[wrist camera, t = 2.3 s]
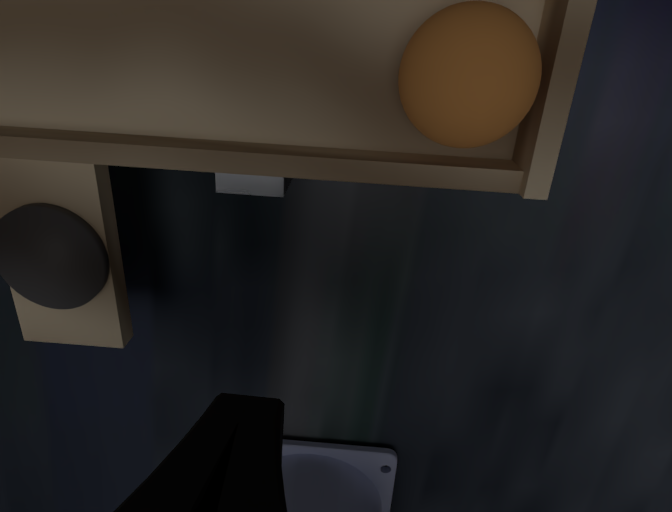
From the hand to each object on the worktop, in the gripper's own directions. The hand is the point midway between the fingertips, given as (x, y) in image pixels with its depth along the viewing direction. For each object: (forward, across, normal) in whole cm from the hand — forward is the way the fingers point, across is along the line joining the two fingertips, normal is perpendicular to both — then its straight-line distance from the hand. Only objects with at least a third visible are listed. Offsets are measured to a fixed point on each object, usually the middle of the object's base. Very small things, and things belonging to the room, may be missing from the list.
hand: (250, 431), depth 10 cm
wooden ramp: (+10, +1, -3) cm, 10 cm away
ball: (+6, -4, -7) cm, 10 cm away
